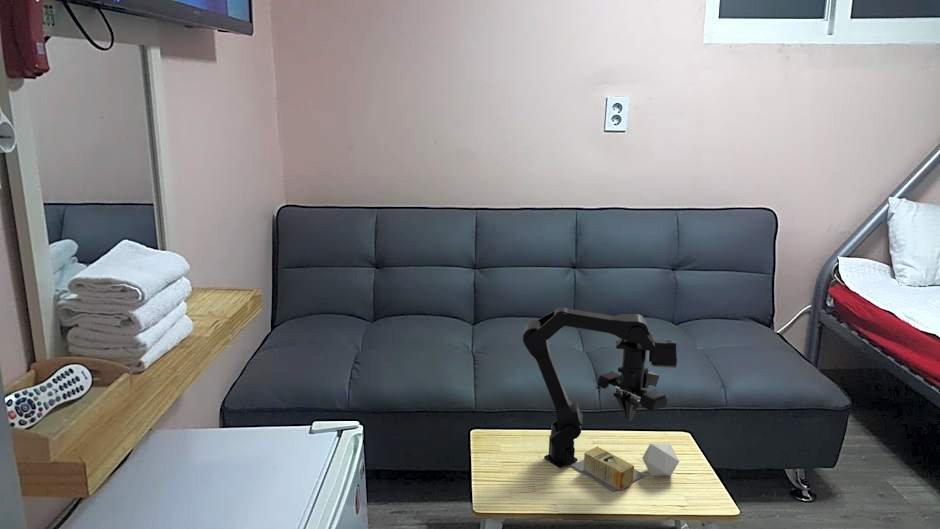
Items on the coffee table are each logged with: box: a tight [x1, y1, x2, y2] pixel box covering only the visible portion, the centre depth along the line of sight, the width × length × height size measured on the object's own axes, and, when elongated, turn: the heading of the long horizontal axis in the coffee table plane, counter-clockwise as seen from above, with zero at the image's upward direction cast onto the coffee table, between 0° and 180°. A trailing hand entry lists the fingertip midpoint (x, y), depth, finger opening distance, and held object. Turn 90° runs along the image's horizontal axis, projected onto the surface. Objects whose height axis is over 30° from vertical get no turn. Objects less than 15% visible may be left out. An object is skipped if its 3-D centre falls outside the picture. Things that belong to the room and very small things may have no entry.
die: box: [641, 442, 680, 477], centre depth 183 cm, size 8×9×10 cm
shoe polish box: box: [583, 446, 635, 491], centre depth 180 cm, size 5×5×12 cm
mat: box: [570, 459, 646, 493], centre depth 184 cm, size 14×12×1 cm
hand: (629, 420), depth 184 cm, fingers closed
